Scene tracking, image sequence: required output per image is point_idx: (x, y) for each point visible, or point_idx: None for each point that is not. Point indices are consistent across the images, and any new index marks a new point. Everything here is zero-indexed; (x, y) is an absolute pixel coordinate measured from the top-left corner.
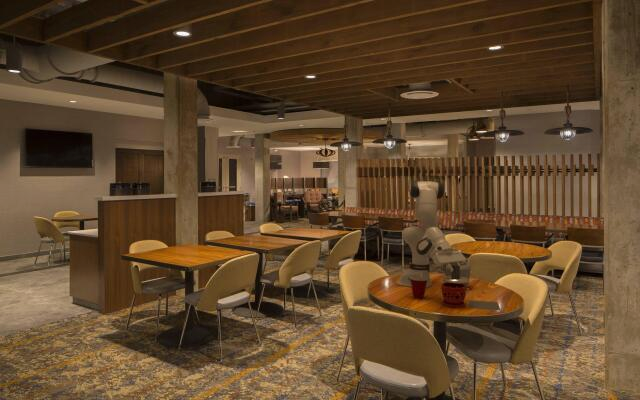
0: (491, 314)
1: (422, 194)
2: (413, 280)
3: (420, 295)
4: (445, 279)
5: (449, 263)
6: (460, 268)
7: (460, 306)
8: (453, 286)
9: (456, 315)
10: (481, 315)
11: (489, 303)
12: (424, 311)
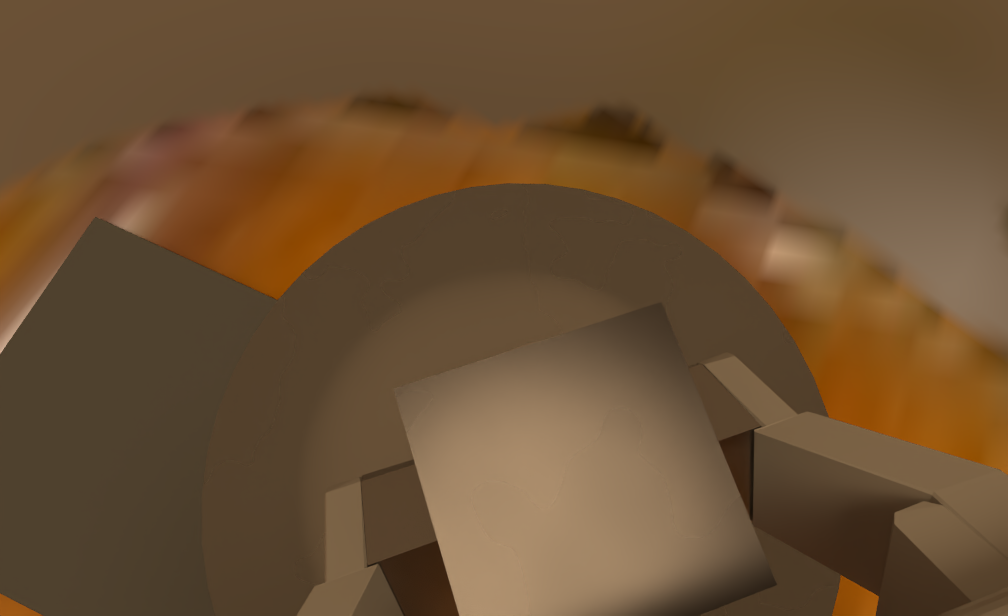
0: (273, 135)
1: None
2: None
3: None
4: (815, 397)
5: (964, 594)
6: (337, 496)
7: None
8: None
9: (629, 160)
10: (389, 123)
11: (30, 488)
12: (911, 329)
